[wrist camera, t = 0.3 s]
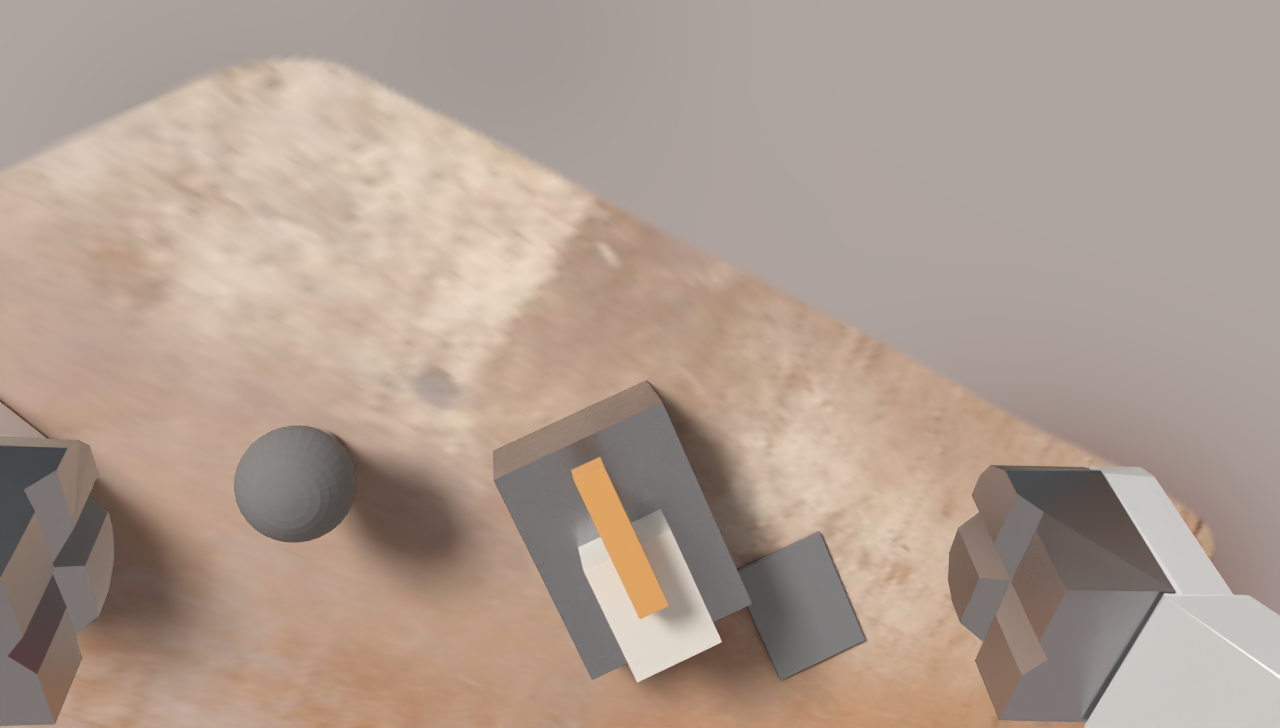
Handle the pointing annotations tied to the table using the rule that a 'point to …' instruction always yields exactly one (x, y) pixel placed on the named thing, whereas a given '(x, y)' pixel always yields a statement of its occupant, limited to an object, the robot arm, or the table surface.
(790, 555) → the mat
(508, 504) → the box
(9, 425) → the container
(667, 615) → the cream white box
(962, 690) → the table surface
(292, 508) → the light bulb
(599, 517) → the t key
